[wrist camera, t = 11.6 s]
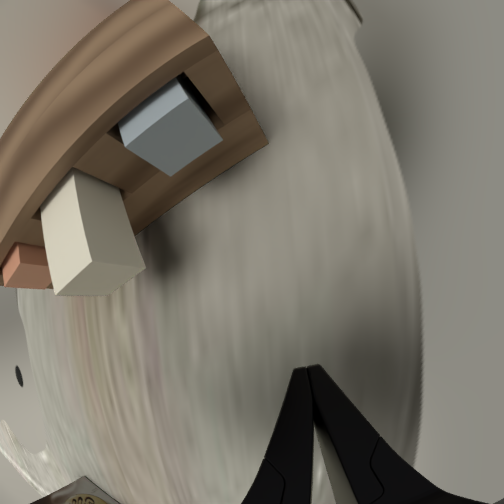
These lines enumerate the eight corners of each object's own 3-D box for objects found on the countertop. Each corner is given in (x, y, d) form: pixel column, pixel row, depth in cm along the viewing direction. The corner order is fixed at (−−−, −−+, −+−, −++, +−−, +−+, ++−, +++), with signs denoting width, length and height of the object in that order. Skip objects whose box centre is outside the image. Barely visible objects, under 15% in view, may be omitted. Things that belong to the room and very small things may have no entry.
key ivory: (146, 267, 14) (92, 261, 10) (107, 296, 15) (55, 295, 11) (117, 184, 16) (72, 162, 12) (84, 215, 16) (39, 201, 13)
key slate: (223, 140, 14) (188, 98, 10) (170, 176, 14) (124, 147, 11) (186, 82, 15) (155, 45, 11) (144, 113, 16) (107, 83, 12)
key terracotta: (64, 268, 16) (20, 263, 13) (44, 289, 17) (4, 286, 13) (53, 202, 18) (15, 190, 14) (34, 226, 19) (-1, 218, 15)
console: (268, 143, 18) (209, 35, 8) (71, 289, 22) (-20, 283, 13) (205, 62, 21) (150, -14, 11) (53, 194, 25) (-17, 169, 15)
